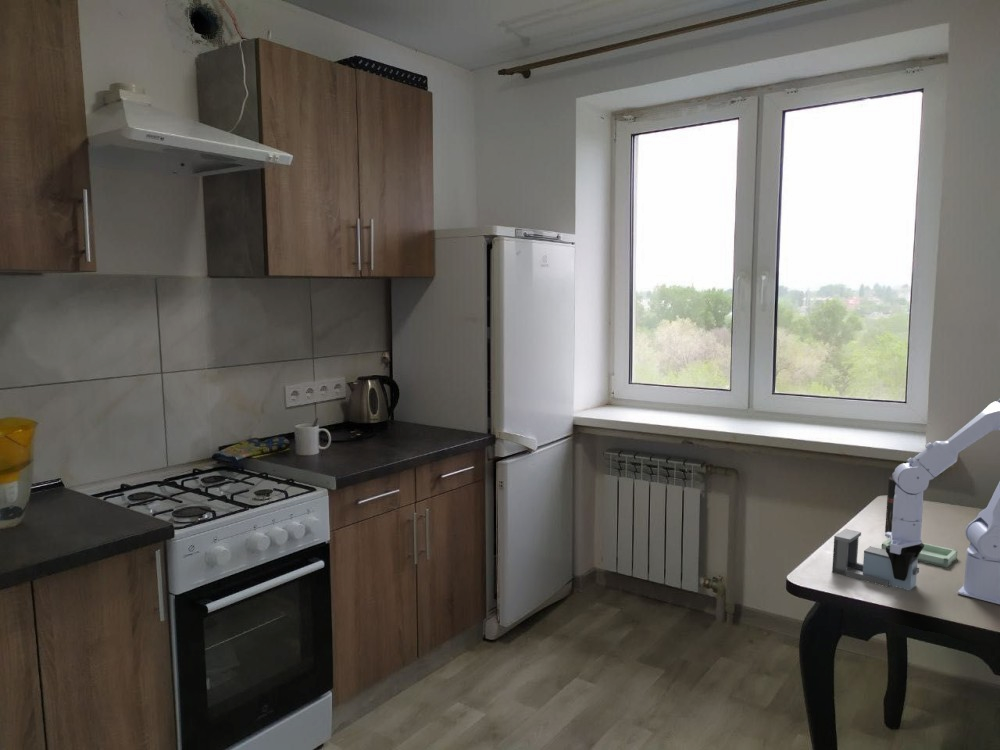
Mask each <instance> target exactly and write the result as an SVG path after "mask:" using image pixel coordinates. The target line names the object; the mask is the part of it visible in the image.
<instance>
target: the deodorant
mask: <svg viewBox="0 0 1000 750" xmlns="http://www.w3.org/2000/svg"><path fill="white" fill-rule="evenodd" d="M895 485H896V482H895V481H894V479H893V476H889V477H888V484H887V497H886V498H887V499H886V511H885V528H884V532H885V534H886V533H887V532H892V519H893V503H894V495H895Z"/></svg>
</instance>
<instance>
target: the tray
mask: <svg viewBox="0 0 1000 750" xmlns="http://www.w3.org/2000/svg"><path fill="white" fill-rule="evenodd" d="M921 543H923V544H924V548H923V549H922V550H921V552H920V554H919V556H918V562H921V563H926V564H930V565H935V566H938V567H943V568H946V569H947V568H949V567H950V566H951V565H952V564H953V563H954V561H956V560H957V559H958V557H957V556H958V550H957V549H952V548H948V547H943V546H939V545H935V544H930V543H926V542H922V541H921ZM890 544H891V539H890V538H888V539H887V540H886V541H884V542H883V543H882V544H881V549H884V550H886V547H887V546H888V545H890Z"/></svg>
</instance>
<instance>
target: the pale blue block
mask: <svg viewBox="0 0 1000 750" xmlns="http://www.w3.org/2000/svg"><path fill="white" fill-rule="evenodd" d="M918 562H919V561H918V558H917V557H913V558H912V560H911V562H910V565H909V569H908V573H907V577H906V579H905V581H902V580H898V579H895V578H894V575H893V570H892V564H891V561H890V558H889V556H888V554H887V552H886V550H884V549H882V548H879V547H875V546H872V545H871V546H869V547H867V548H866V549H865V550H864V551H863V563H862V564H863V570H862V574H865V575H869V576H873V577H877V578H880V579H884V580H888V581H889V584H890V585H889V586H891V585H893V586H892V587H895V586H897V587H896V588H898V587H901V588H900V589H902V588H905V589H904V590H906V589H908V590H907V591H910V590H911V589H912V588H913V587H914V586H915V585H917V578H918V577H917V575H918V574H919V572H920V567H918ZM915 587H916V586H915ZM915 587H914V588H915ZM914 588H913V589H914ZM913 589H912V590H913ZM912 590H911V591H912Z"/></svg>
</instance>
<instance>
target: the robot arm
mask: <svg viewBox="0 0 1000 750" xmlns="http://www.w3.org/2000/svg"><path fill="white" fill-rule="evenodd" d="M993 431H1000V398H999V399H998V400H997V401H995V400H994V401H993V402H991V403H989V404H988V405H987V407H985V408H984V409H982V411H981V412H979V414H977V415H976V416H975V417H973V418H972V419H971V420H970V421H968V423H967V424H965V425H964V426H963V427H961V428H960V429H959V430H958V431H956V432H955V433H953V435H952V436H950V437H949V438H948V439H946V440H935V441H934V442H930V441H929V442H927V443H926V444H925V445H924V446H925V448H924V449H923V450H922V451H920V452H919V453H918V454H916V455H915V456H914V457H909V458H908V459H906V463H904V462H903V463H901V464H898V466H896V467H895V469H894V471H893V472H892V474H891V475H892V476H891V477H893V479H894V481H895V482H896V485H895V495H894V503H893V519H892V532H887V533H886V532H885V537H886V538H888V539H891V544H890V545H888V546H887V547H886V552H887V554H888V556H889V558H890V561H891V564H892V570H893V575H894V578H895V579H898V580H902V581H905V579H906V577H907V573H908V569H909V565H910V562H911V560H912V558H913V557H917V558H918V556H919V554H920V552H921V550H922V549H923V548H924V544H923V543H924V542H922V525H923V524H922V523H923V513H924V512H923V511H924V491H926V490H928V487H929V484H930V481H931V480H934V478H936V477H938V476H939V475H940V474H941V473H943V472H944V471H945V470H947V469H948V468H950V467H951V466H952V465H954V464H956V463H957V462H958V457H959V453H960V452H961V451H963V450H965V449H966V448H968V447H969V446H971V445H972V444H974V443H975V442H977V441H978V440H981V438H983V437H984V436H987V435H988V434H989V433H991V432H993ZM964 532H965V536H966V539H967V540H968V541H969V542H970V544H969V546H968V547H967V548H966V555H965V556H966V557H965V569H964V581H963V585H962V586H961V588H959V589H958V590H957V594H959V595H961V596H966V597H969V598H973V599H977V600H981V601H985V602H989V603H992V604H995V605H996V604H997V605H1000V481H999V482H998V484H997V486H996V488H995V490H994V492H993V494H992V497H991V498H990V500H989V501H988V504H987V507H985V508H983V509H982V510H981V511H979V512H978V514H977V516H976V517H975V518H974V519H973V520H971V521H970V522H969V523H968V524H967V525H966V527H965V530H964ZM921 542H922V543H921Z"/></svg>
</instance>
